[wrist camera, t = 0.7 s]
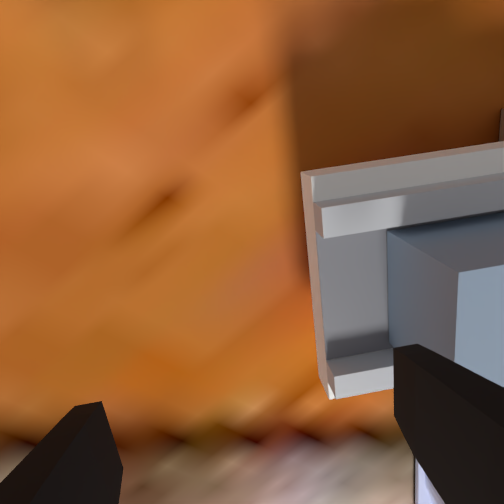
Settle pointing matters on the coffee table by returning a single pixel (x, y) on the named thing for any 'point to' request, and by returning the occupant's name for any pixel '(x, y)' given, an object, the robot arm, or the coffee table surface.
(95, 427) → the robot arm
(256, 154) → the coffee table surface
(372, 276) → the balance beam
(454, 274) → the rider
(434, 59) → the coffee table surface
